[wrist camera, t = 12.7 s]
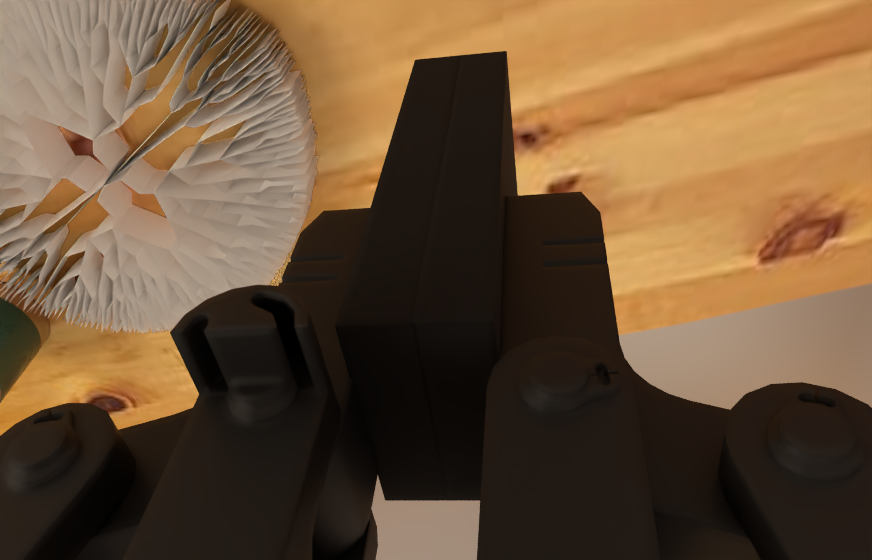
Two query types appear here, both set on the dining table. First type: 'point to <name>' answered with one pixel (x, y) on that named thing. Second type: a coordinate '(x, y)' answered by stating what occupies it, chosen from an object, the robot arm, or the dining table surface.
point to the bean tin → (18, 336)
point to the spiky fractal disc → (174, 189)
